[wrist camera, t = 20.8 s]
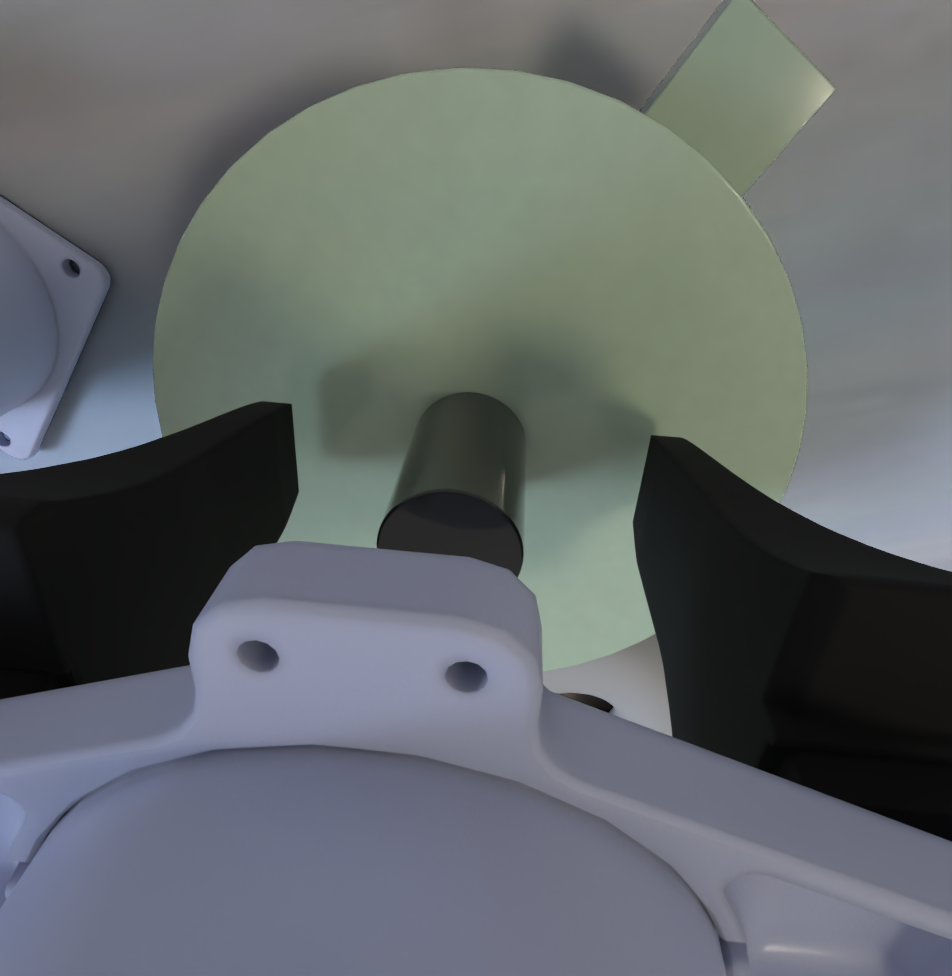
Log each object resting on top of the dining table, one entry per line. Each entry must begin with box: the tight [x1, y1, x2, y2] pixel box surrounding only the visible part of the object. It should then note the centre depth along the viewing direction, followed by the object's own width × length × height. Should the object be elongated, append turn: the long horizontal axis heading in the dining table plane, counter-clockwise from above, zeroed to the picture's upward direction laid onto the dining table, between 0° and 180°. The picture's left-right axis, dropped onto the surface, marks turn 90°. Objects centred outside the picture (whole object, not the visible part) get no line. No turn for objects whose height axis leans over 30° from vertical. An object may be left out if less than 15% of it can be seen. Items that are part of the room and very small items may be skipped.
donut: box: [543, 634, 672, 737], centre depth 25 cm, size 10×4×10 cm
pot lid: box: [152, 67, 808, 672], centre depth 13 cm, size 14×14×5 cm
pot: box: [640, 0, 836, 196], centre depth 18 cm, size 13×18×6 cm
